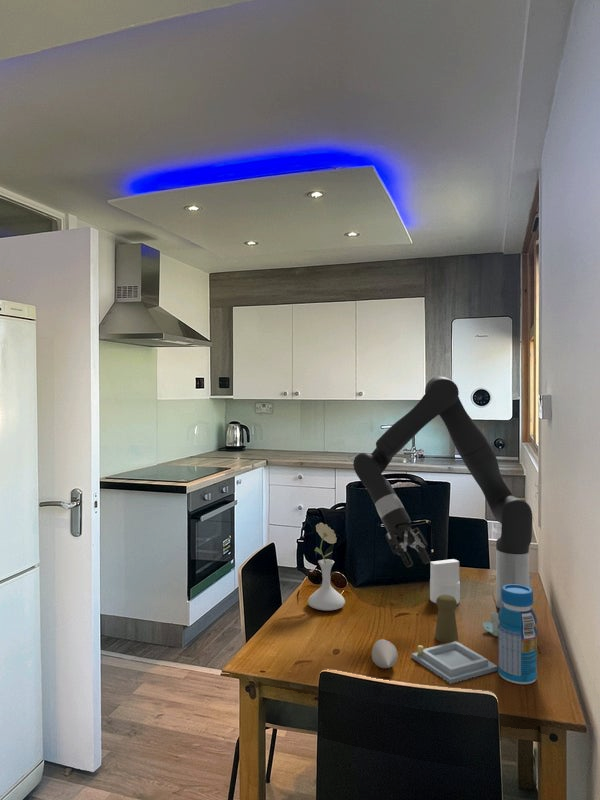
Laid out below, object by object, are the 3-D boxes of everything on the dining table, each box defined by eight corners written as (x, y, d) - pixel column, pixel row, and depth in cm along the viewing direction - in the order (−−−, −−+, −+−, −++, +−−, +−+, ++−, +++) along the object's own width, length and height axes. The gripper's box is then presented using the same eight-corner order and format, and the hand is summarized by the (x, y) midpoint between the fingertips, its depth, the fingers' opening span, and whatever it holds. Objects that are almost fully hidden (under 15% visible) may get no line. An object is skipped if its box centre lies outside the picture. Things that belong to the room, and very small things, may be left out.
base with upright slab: (449, 593, 180) (449, 556, 180) (465, 603, 172) (465, 564, 172) (424, 596, 178) (424, 559, 178) (440, 606, 169) (440, 567, 169)
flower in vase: (351, 611, 166) (351, 527, 166) (315, 616, 162) (315, 530, 162) (333, 596, 178) (333, 518, 178) (300, 601, 174) (300, 521, 174)
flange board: (456, 646, 142) (456, 634, 142) (497, 670, 130) (497, 657, 130) (411, 657, 136) (411, 645, 136) (450, 684, 124) (450, 670, 124)
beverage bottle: (497, 682, 124) (496, 592, 124) (498, 665, 132) (497, 580, 132) (538, 688, 121) (538, 597, 121) (536, 671, 129) (536, 584, 129)
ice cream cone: (386, 686, 122) (380, 665, 137) (408, 668, 123) (399, 649, 138) (368, 663, 123) (364, 644, 138) (389, 645, 124) (383, 628, 138)
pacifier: (493, 627, 154) (479, 632, 151) (493, 604, 155) (480, 608, 151) (517, 636, 149) (503, 641, 145) (517, 612, 149) (504, 617, 145)
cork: (459, 643, 144) (459, 601, 144) (435, 642, 145) (435, 599, 145) (457, 634, 150) (457, 593, 149) (434, 632, 151) (434, 591, 151)
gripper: (386, 507, 157) (414, 561, 149) (415, 505, 167) (442, 555, 159) (368, 520, 161) (394, 573, 153) (398, 518, 171) (423, 567, 163)
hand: (419, 564), depth 156 cm, fingers open, 8 cm apart
